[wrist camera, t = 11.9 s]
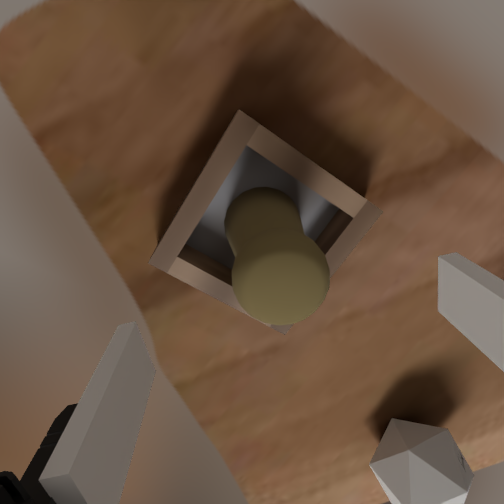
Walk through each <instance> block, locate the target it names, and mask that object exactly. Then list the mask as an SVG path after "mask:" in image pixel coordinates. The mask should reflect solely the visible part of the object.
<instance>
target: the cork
mask: <svg viewBox="0 0 504 504" xmlns="http://www.w3.org/2000/svg"><path fill="white" fill-rule="evenodd" d="M224 227H225V234H226V237H227V239H228V241H229V244H230V246H231V249H232V251H233V253H234V256H235V261H234V264H233V268H232V286H233V291H234V294H235V296H236V298H237V300H238V302H239V304H240V306H241V307H242V308H243V309H244V310H245V311H246V312H247V313H248V314H249V315H250V316H251V317H253V318H255V319H257V320H259V321H261V322H263V323H268V324H273V325H290V324H294V323H296V322H299V321H302V320H304V319H306V318H307V317H308V316H310V315H311V314H313V313H314V312H315V311H316V310H317V308H318V307H319V306H320V305H321V303H322V302H323V301H324V299H325V297H326V294H327V292H328V289H329V283H330V270H329V266H328V263H327V260H326V256H325V254H324V253H323V252H322V251H321V249H320V248H319V247H318V245H317V244H316V243H315V242H314V240H312V239H311V238H309V237H307V236H306V235H305V234H304V230H303V226H302V222H301V218H300V215H299V212H298V209H297V206H296V204H295V203H294V202H293V201H292V199H291V198H290V197H289V196H288V195H286V194H285V193H283V192H282V191H280V190H278V189H274V188H270V187H255V188H252V189H250V190H247V191H245V192H243V193H241V194H240V195H239V196H238V197H237V198H235V199H234V200H233V202H232V203H231V205H230V206H229V208H228V209H227V212H226V216H225V220H224Z"/></svg>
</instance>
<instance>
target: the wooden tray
mask: <svg viewBox="0 0 504 504" xmlns="http://www.w3.org/2000/svg"><path fill="white" fill-rule="evenodd" d="M255 187H270V188H274V189H278V190H280V191H282V192H283V193H285V194H286V195H288V196H289V197H290V198H291V199H292V201H293V202H294V203H295V204H296V206H297V209H298V212H299V215H300V218H301V222H302V226H303V230H304V234H305V235H306V236H307V237H309V238H311V239H312V240H314V242H315V243H316V244H317V245H318V247H319V248H320V249H321V251H322V252H323V253H324V254H325V256H326V260H327V263H328V266H329V270H330V278H331V277H332V275H333V274H334V273H335V272H336V270H337V269H338V268H339V267H340V265H341V264H342V263H343V262H344V260H345V259H346V258H347V257H348V255H349V254H350V253H351V252H352V250H353V249H354V248H355V247H356V245H357V244H358V243H359V242H360V240H361V239H362V238H363V237H364V235H365V234H366V233H367V232H368V230H369V229H370V228H371V227H372V225H373V224H374V223H375V222H376V220H377V219H378V218H379V217H380V215H381V214H382V213H383V211H382V210H380V209H379V208H378V207H376V206H375V205H373V204H372V203H371V202H369V201H368V200H366V199H365V198H364V197H362V196H361V195H359V194H358V193H356V192H355V191H354V190H352V189H351V188H349V187H348V186H347V185H345V184H344V183H342V182H341V181H340V180H338V179H337V178H335V177H334V176H333V175H331V174H330V173H328V172H327V171H325V170H324V169H323V168H321V167H320V166H318V165H317V164H316V163H314V162H313V161H311V160H310V159H309V158H307V157H306V156H304V155H303V154H301V153H300V152H299V151H297V150H296V149H294V148H293V147H292V146H290V145H289V144H287V143H286V142H285V141H283V140H282V139H280V138H279V137H278V136H276V135H275V134H273V133H272V132H270V131H269V130H268V129H266V128H265V127H263V126H262V125H261V124H259V123H258V122H256V121H255V120H254V119H252V118H251V117H249V116H248V115H246V114H245V113H244V112H242V111H241V110H237V112H236V113H235V115H234V117H233V118H232V120H231V122H230V124H229V125H228V127H227V129H226V130H225V132H224V134H223V135H222V137H221V139H220V140H219V142H218V144H217V145H216V147H215V149H214V151H213V152H212V154H211V156H210V157H209V159H208V161H207V162H206V164H205V166H204V167H203V169H202V171H201V172H200V174H199V176H198V178H197V179H196V181H195V183H194V184H193V186H192V188H191V189H190V191H189V193H188V194H187V196H186V198H185V199H184V201H183V203H182V205H181V206H180V208H179V210H178V211H177V213H176V215H175V216H174V218H173V220H172V221H171V223H170V225H169V226H168V228H167V230H166V231H165V233H164V235H163V237H162V238H161V240H160V242H159V243H158V245H157V247H156V249H155V251H154V253H153V254H152V256H151V258H150V260H149V262H148V263H149V264H151V265H153V266H154V267H156V268H158V269H160V270H162V271H164V272H166V273H168V274H170V275H172V276H174V277H175V278H177V279H179V280H181V281H183V282H185V283H187V284H189V285H191V286H193V287H195V288H196V289H198V290H200V291H202V292H204V293H206V294H208V295H210V296H212V297H214V298H216V299H217V300H219V301H221V302H223V303H225V304H227V305H229V306H231V307H233V308H235V309H237V310H238V311H240V312H242V313H244V314H246V315H248V316H250V315H249V314H248V313H247V312H246V311H245V310H244V309H243V308H242V307H241V306H240V304H239V302H238V300H237V298H236V296H235V294H234V291H233V286H232V268H233V264H234V261H235V256H234V253H233V251H232V249H231V246H230V244H229V241H228V239H227V237H226V234H225V227H224V220H225V216H226V212H227V209H228V208H229V206H230V205H231V203H232V202H233V200H234V199H235V198H237V197H238V196H239V195H240V194H241V193H243V192H245V191H247V190H250V189H252V188H255ZM250 317H251V316H250ZM252 318H253V317H252ZM254 319H255V318H254ZM256 320H257V319H256ZM258 321H259V320H258ZM259 322H261V321H259ZM261 323H263V322H261ZM263 324H265V325H267V326H269V327H271V328H273V329H275V330H277V331H279V332H280V333H282V334H284V335H285V334H286V333H287V332H288V330H289V329H290V328H291V327H292V325H293V324H290V325H273V324H268V323H263Z"/></svg>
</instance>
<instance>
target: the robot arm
mask: <svg viewBox="0 0 504 504" xmlns="http://www.w3.org/2000/svg"><path fill="white" fill-rule="evenodd" d="M438 311H439V312H440V313H441V314H442V315H443V316H444V317H445V318H446V319H447V320H448V321H449V322H450V323H452V324H453V325H454V326H455V327H456V328H457V329H458V330H459V331H460V332H461V333H462V334H463V335H465V336H466V337H467V338H468V339H469V340H470V341H471V342H472V343H473V344H474V345H475V346H476V347H477V348H479V349H480V350H481V351H482V352H483V353H484V354H485V355H486V356H487V357H488V358H489V359H490V360H492V361H493V362H494V363H495V364H496V365H497V366H498V367H499V368H500V369H501V370H502V371H503V372H504V281H503V280H502V279H500V278H498V277H497V276H495V275H493V274H492V273H490V272H488V271H487V270H485V269H483V268H482V267H480V266H478V265H477V264H475V263H473V262H472V261H470V260H468V259H467V258H465V257H463V256H462V255H460V254H458V253H457V252H456V253H451V254H446V255H442V256H438ZM155 372H156V370H155V368H154V365H153V363H152V360H151V358H150V355H149V353H148V350H147V348H146V345H145V343H144V340H143V338H142V335H141V333H140V330H139V328H138V326H137V323H136V322H131V323H126V324H122V325H118V327H117V329H116V331H115V333H114V335H113V337H112V339H111V341H110V343H109V345H108V347H107V348H106V350H105V353H104V354H103V356H102V358H101V360H100V362H99V364H98V366H97V368H96V370H95V372H94V374H93V375H92V377H91V379H90V381H89V383H88V385H87V387H86V389H85V391H84V393H83V395H82V397H81V399H80V401H79V403H77V404H73V405H68V406H67V407H66V408H65V409H64V410H63V411H62V412H61V413H60V415H58V417H57V418H56V419H55V420H54V422H53V424H52V425H51V427H50V429H49V431H48V432H47V436H46V437H45V438H44V440H43V441H42V443H41V445H40V448H39V449H38V450H37V452H36V454H35V455H34V457H33V459H32V461H31V462H30V464H29V466H28V468H27V469H26V471H25V473H24V475H23V477H22V478H21V480H20V481H19V480H18V478H17V477H16V476H15V475H14V474H13V472H8V471H3V472H0V504H119V502H120V498H121V495H122V491H123V488H124V484H125V480H126V476H127V473H128V469H129V466H130V462H131V459H132V455H133V452H134V448H135V444H136V441H137V437H138V433H139V430H140V426H141V423H142V419H143V415H144V412H145V408H146V405H147V401H148V397H149V394H150V390H151V387H152V383H153V380H154V376H155Z"/></svg>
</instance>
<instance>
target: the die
mask: <svg viewBox="0 0 504 504" xmlns="http://www.w3.org/2000/svg"><path fill="white" fill-rule="evenodd" d="M369 465H370V467H371V469H372V470H373V472H374V474H375V476H376V477H377V479H378V481H379V482H380V484H381V486H382V488H383V489H384V491H385V493H386V495H387V496H388V498H389V500H390V501H391V503H392V504H464V502H465V499H466V497H467V494H468V491H469V488H470V486H471V483H472V480H473V477H474V474H473V472H472V470H471V469H470V467H469V465H468V463H467V462H466V460H465V458H464V456H463V455H462V453H461V451H460V449H459V448H458V446H457V444H456V443H455V441H454V439H453V437H452V436H451V434H450V432H449V430H448V429H446V428H441V427H435V426H430V425H425V424H420V423H415V422H409V421H404V420H399V419H394V418H392V419H391V421H390V423H389V425H388V427H387V429H386V431H385V433H384V435H383V437H382V439H381V441H380V443H379V445H378V447H377V449H376V451H375V453H374V455H373V457H372V459H371V462H370V464H369Z"/></svg>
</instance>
